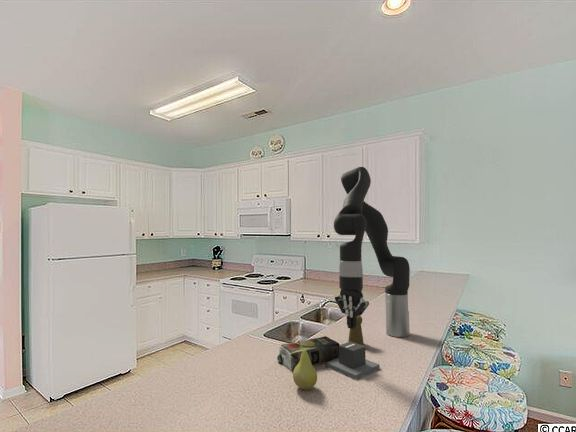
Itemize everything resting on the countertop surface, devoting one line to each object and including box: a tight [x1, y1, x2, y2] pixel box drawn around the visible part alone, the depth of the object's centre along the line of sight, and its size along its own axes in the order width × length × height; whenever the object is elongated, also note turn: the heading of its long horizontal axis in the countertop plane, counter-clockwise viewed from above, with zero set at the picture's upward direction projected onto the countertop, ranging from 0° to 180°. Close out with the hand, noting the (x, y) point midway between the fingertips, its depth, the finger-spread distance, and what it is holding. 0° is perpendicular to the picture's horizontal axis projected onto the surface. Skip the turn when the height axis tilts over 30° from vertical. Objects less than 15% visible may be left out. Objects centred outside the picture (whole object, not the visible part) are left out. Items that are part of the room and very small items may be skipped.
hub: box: [325, 358, 380, 380], centre depth 99 cm, size 12×12×5 cm
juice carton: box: [276, 335, 341, 371], centre depth 105 cm, size 20×10×6 cm, turn 116°
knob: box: [339, 341, 367, 369], centre depth 99 cm, size 6×6×6 cm
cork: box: [347, 315, 365, 346], centre depth 121 cm, size 6×6×11 cm
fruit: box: [292, 340, 318, 391], centre depth 86 cm, size 7×8×12 cm
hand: (351, 328), depth 100 cm, fingers closed
